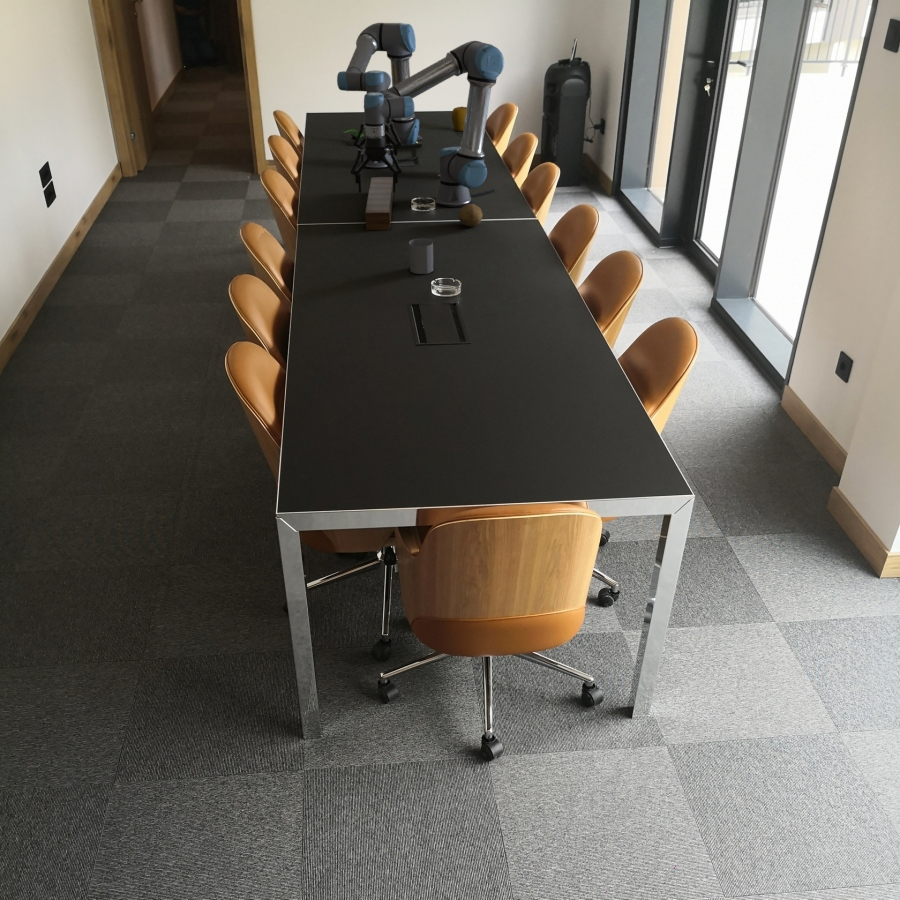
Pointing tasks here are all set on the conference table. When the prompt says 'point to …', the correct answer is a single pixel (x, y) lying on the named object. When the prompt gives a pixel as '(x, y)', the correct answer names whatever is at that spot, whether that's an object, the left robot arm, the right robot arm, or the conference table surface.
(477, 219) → the potato
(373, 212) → the wooden beam
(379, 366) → the conference table surface
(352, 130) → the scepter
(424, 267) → the cup
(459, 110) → the yellow piece
